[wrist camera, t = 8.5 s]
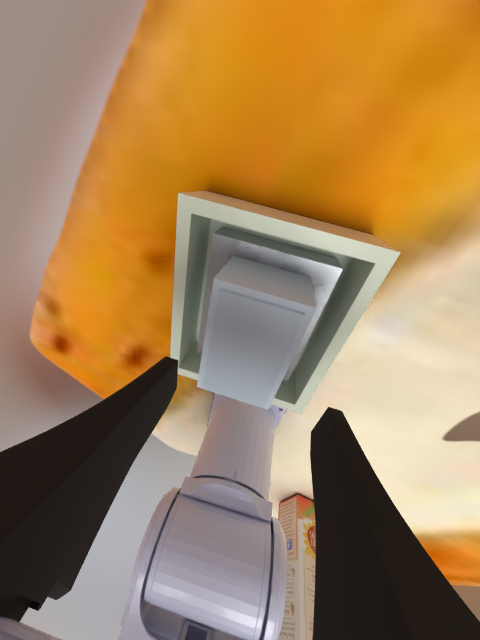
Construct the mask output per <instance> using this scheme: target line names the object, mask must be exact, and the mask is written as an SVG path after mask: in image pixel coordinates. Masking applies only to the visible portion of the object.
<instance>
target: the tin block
mask: <svg viewBox="0 0 480 640" xmlns="http://www.w3.org/2000/svg"><path fill="white" fill-rule="evenodd" d="M233 256H236V257H240V258H243V259H247V260H250V261H254V262H257V263H261V264H265V265H268V266H272V267H275V268H279V269H282V270H286V271H289V272H293V273H297V274H300V275H304V276H307V277H311V280H312V286H313V291H314V297H315V303H316V310H315V312H314V314H313V316H312V318H311V320H310V323H309V325H308V327H307V329H306V331H305V333H304V335H303V337H302V340H301V342H300V344H299V346H298V348H297V350H296V352H295V354H294V357H293V359H292V361H291V363H290V365H289V367H288V369H287V371H286V374H285V376H284V378H283V381H286V382H288V380H289V378H290V376H291V374H292V372H293V370H294V368H295V366H296V364H297V362H298V360H299V358H300V356H301V353H302V351H303V349H304V347H305V345H306V343H307V341H308V339H309V337H310V335H311V333H312V331H313V329H314V327H315V325H316V323H317V321H318V319H319V317H320V315H321V313H322V311H323V309H324V307H325V305H326V303H327V301H328V299H329V297H330V295H331V293H332V291H333V289H334V287H335V285H336V283H337V281H338V278H339V276H340V274H341V272H342V270H343V268H342V266H341V264H340V263H339V261H338V259H337V257H334V256H330V255H327V254H323V253H319V252H316V251H312V250H308V249H305V248H301V247H297V246H294V245H290V244H286V243H283V242H279V241H275V240H272V239H268V238H265V237H261V236H257V235H254V234H250V233H246V232H243V231H239V230H235V229H232V228H228V227H222V228H221V229H219V230H217V231H216V232H214V233H213V237H212V245H211V252H210V259H209V266H208V274H207V281H206V288H205V295H204V302H203V310H202V317H201V324H200V331H199V339H198V346H197V354H200V355H202V350H203V344H204V337H205V331H206V324H207V318H208V312H209V305H210V299H211V293H212V286H213V280H214V277H215V276H216V275H217V274H218V273H219V272H220V270H221V269H222V268H223V267H224V266H225V265H226V263H227V262H228V261H229V260H230V259H231V258H232V257H233Z"/></svg>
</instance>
